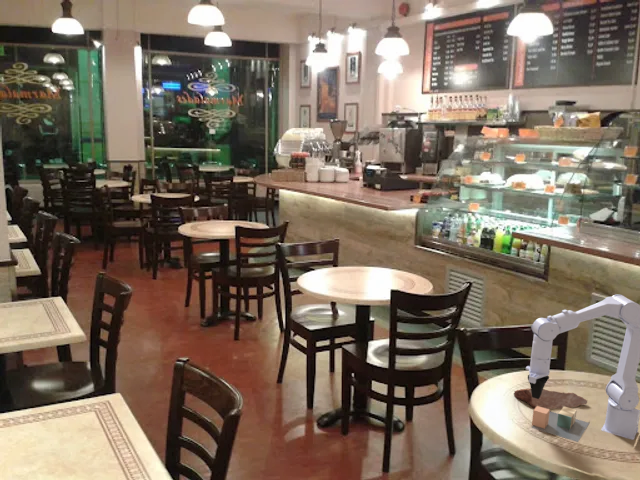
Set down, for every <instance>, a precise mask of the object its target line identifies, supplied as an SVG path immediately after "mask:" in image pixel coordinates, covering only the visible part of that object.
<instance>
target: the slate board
mask: <svg viewBox="0 0 640 480" xmlns="http://www.w3.org/2000/svg"><path fill="white" fill-rule="evenodd" d="M558 414H559V413H558V412H554V411H551V410H550V412H549V420H548V425H547V426H546V427H545V429H544V428H541V427H538V426H534V425H532V426H531V429H534V430H538V431H541V432H544V433H546V434H547V433H548V434H551V435H554V436H557V437H560V438H563V439H567V440H570V441H573V442H577V443H579V441H580V440H581V438H582V436H583V435H584V433H585V431H586V430H587V428H588V426H589V425H590V422H588V421H586V420H585V421H584V420H581V419H578V418H576V419H575V422H574V424H573V425H572V427H571V428H570V429H567V428H564V427H561V426H557V420H558Z"/></svg>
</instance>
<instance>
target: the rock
mask: <svg viewBox="0 0 640 480" xmlns="http://www.w3.org/2000/svg"><path fill="white" fill-rule="evenodd" d="M513 396H514V397H515V398H516V399H518V400H521V401H524V402H525V403H527V404H528V405H530V407H531V408H533V410H534V409H535V408H536V407H537V406H539V407H543V408H546V409H550V410H551V409H552V410H553V409H562V408H563V407H564V406H565V407H568V408H577V407H579V406H581V405H587V404H588V400H587V399H585V398H584V397H582V396H579V395H577V394H576V393H574V392H559V391H554V390H553V391H552V390H548V389H544V388H543V391H542V394H541V396H540V398H539V399H536V398H533V397H532V393H531V387H530V388H520V389H517V390H514V393H513Z"/></svg>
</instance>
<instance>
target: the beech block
mask: <svg viewBox="0 0 640 480" xmlns="http://www.w3.org/2000/svg"><path fill="white" fill-rule="evenodd" d="M557 414H558V420H557V426H561V427H564V428H567V429H570V428H571V427H572V425H573V424H574V422H575V419H577V417H576V416H577V409H575V408H573V407H565V406H564V407H563V408H561V409H560V411H559V412H558V413H557Z"/></svg>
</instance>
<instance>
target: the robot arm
mask: <svg viewBox="0 0 640 480" xmlns="http://www.w3.org/2000/svg"><path fill="white" fill-rule="evenodd" d="M603 316H608V317H611V318H615V319H620V320H621V321H622V323H623V324H624V325H625V327H626V329H625V334H624V338H623V343H622V346H621V350H620V355H619V359H618V364H617V368H616V372H615V374H612V375H611V377H610V380H609V381H608V383H607V384H606V387H605V393H606V395H607V396H608V398H607V407H606V413H605V414H606V415H605V422H604V424H603V426H602V427H601V428H600V429H601V431H602V432H605V433H608V434H612V435H615V436H618V437H622V438H625V439H628V440H632V441H633V440H635V438H636V436H637V434H638V431H639V423H640V410H639V409H638V408H636V407H637V406H638V404H639V402H640V398H639V395H638V394H639V387H638V384H637V381H636V376H637V372H638V368H639V364H640V304H639V303H637V302H635V301H633V300H631V299H629V298H627V297H626V296H625V295H623V294H617V293H616V294H614V295H612V296H607V297H605V298H604V299H603V300H600V301H599V302H597V303H594V304H591V305H589V306H586V307H583V308H581V309H579V310H576V311H574V310H572V309H571V310H570V309H569V310H567V309H562V310H561V312H560V313H557V314H554V315H547V317H539V318H537V319H535V320H534V321H533V323H532V324H531V325H530V328H531V330H532V333H533V338H532V339H533V340H532V347H531V355H530V363H529V365H527V366H526V367H525V370H526V371H528V375H527V380H528V383H529V385H530V388H531V393H532V397H533V398H536V399H539V398H540V396H541V394H542V391H543V389H544V388H545V385H546V384H547V382H548V381H549V379H550V376H549V375H550V365H551V356H552V350H553V343H554V341H553V340H555V339H556V338H557V336H558V335H559V334H562V333H563V334H564V333H565V332H568V331H571V330H574V329H576V328H578V327H579V325H580V323H582V322H585V321H590V320H593V319H597V318H600V317H603Z"/></svg>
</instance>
